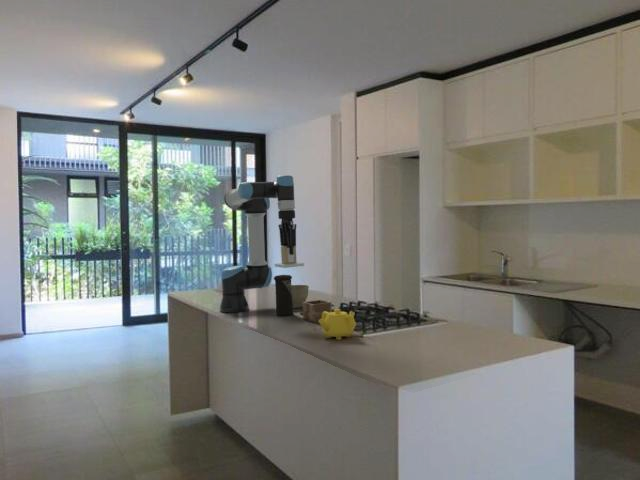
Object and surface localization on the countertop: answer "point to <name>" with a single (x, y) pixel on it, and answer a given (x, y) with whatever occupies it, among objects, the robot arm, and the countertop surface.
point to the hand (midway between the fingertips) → (289, 261)
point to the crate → (315, 309)
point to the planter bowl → (299, 295)
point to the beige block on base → (285, 259)
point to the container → (283, 295)
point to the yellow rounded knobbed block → (337, 324)
